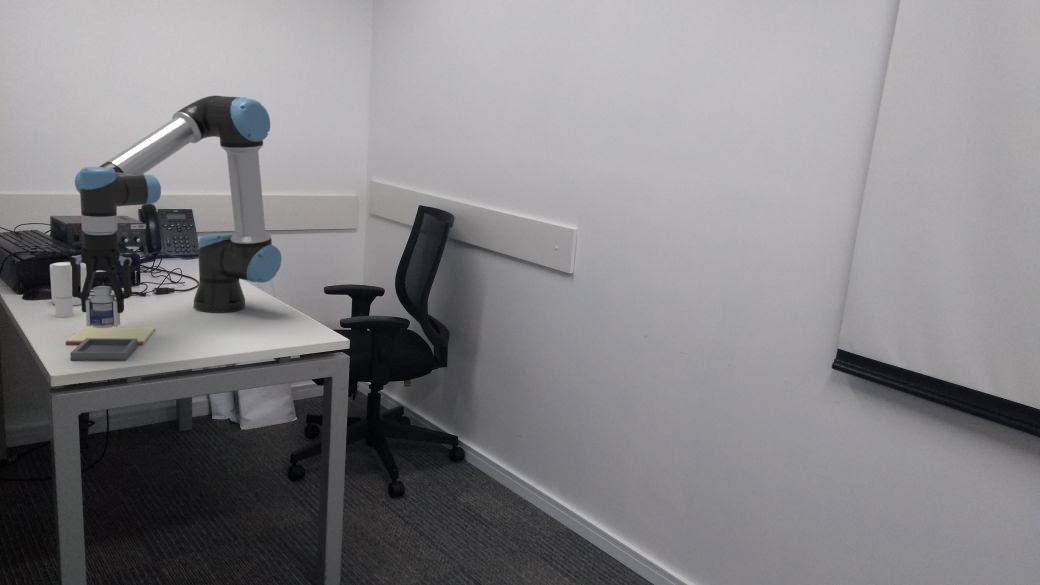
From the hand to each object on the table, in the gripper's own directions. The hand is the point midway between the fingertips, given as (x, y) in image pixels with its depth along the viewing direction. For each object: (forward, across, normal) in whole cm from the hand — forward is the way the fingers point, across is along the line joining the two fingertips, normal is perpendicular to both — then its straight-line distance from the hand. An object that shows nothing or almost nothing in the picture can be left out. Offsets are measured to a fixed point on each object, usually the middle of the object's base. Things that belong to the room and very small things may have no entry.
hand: (103, 324), depth 192 cm
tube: (+7, +20, -35) cm, 41 cm away
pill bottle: (0, 0, 0) cm, 0 cm away
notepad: (+7, +2, -14) cm, 16 cm away
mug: (+7, +23, -51) cm, 56 cm away
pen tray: (+7, 0, 0) cm, 7 cm away
